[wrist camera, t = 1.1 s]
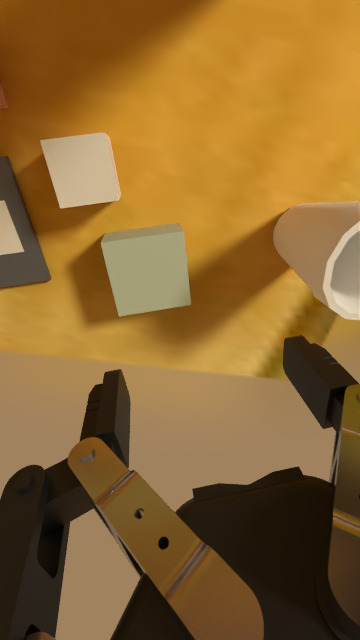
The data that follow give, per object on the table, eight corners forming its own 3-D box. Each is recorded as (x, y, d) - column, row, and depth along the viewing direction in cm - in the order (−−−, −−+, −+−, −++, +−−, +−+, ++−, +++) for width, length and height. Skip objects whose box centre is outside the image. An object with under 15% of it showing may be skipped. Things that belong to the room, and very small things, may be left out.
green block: (105, 232, 31) (100, 242, 27) (177, 222, 31) (183, 231, 27) (120, 299, 35) (118, 316, 31) (185, 289, 35) (191, 304, 31)
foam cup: (266, 280, 36) (325, 334, 24) (252, 206, 31) (318, 230, 20) (338, 255, 35) (433, 297, 24) (336, 176, 31) (451, 183, 20)
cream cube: (55, 144, 26) (39, 140, 22) (109, 137, 27) (104, 132, 22) (71, 201, 29) (60, 208, 24) (121, 195, 29) (118, 200, 25)
